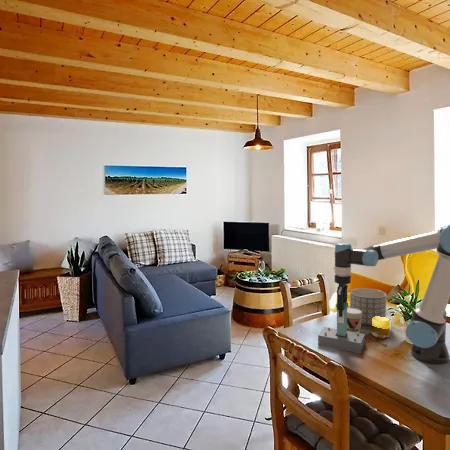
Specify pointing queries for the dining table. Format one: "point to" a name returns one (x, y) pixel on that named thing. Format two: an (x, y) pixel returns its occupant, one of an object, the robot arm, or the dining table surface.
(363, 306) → the planter
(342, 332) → the plug
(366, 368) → the dining table surface
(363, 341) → the block
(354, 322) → the coffee cup
